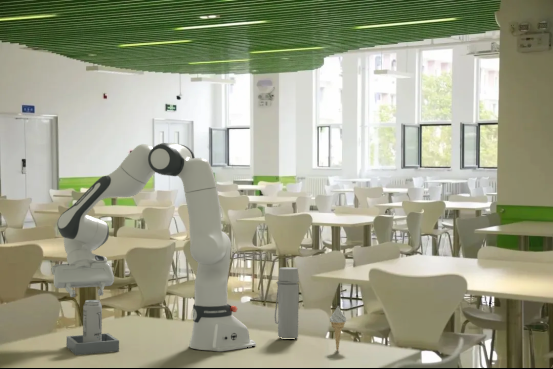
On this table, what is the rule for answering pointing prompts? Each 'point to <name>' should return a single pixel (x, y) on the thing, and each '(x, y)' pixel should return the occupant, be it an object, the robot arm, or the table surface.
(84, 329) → the energy drink can
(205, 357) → the table surface
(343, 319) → the ice cream cone
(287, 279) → the water bottle
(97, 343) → the gray tray
